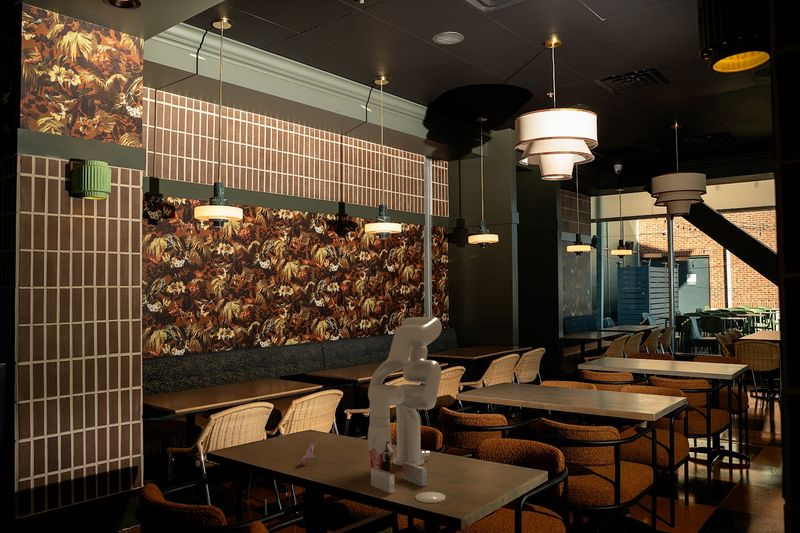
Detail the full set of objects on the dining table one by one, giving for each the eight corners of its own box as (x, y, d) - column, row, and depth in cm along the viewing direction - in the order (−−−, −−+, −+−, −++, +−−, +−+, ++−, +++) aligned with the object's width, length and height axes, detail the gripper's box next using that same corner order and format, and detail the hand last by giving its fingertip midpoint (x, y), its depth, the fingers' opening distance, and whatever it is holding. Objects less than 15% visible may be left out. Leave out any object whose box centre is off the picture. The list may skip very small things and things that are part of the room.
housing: (407, 477, 238) (407, 461, 239) (426, 485, 229) (426, 468, 229) (370, 485, 229) (370, 468, 230) (389, 493, 219) (389, 475, 220)
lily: (316, 461, 268) (304, 441, 268) (334, 454, 261) (322, 434, 261) (297, 477, 258) (285, 456, 258) (316, 470, 251) (303, 449, 251)
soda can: (367, 479, 237) (367, 446, 238) (376, 474, 243) (376, 442, 244) (384, 481, 234) (383, 448, 235) (393, 476, 240) (393, 444, 241)
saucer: (433, 491, 221) (433, 490, 221) (451, 499, 213) (451, 497, 213) (409, 497, 215) (409, 495, 215) (427, 505, 207) (427, 503, 207)
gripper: (359, 419, 245) (359, 466, 244) (384, 426, 230) (384, 476, 230) (375, 416, 249) (376, 463, 248) (401, 423, 235) (401, 472, 234)
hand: (380, 469), depth 239 cm, fingers closed on soda can, 7 cm apart
